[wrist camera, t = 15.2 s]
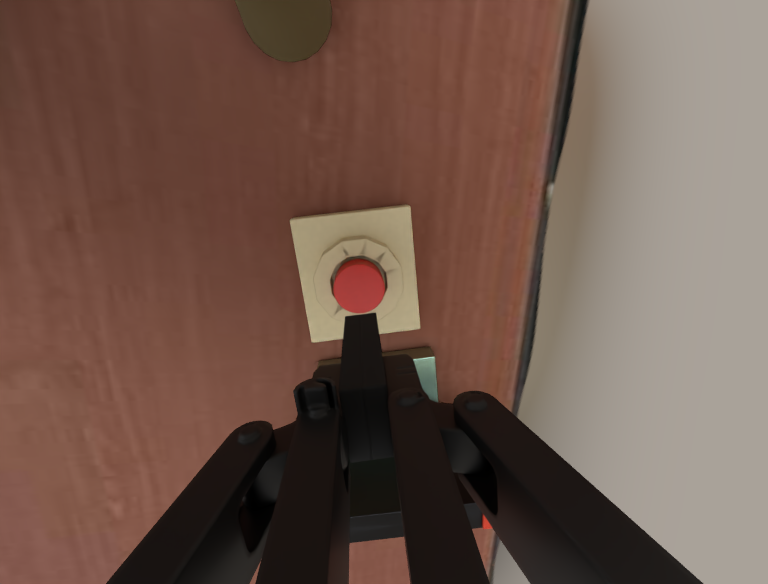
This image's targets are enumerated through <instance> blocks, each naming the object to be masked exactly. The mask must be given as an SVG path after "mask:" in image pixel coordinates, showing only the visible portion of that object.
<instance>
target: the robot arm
mask: <svg viewBox="0 0 768 584" xmlns="http://www.w3.org/2000/svg"><path fill="white" fill-rule="evenodd" d="M293 392H294V397H295V402H296V407H297V412H298V416H297V420H296V421H294V422H293V423H291V424H289V425H286V426H284V427H281V428H278V429H275V430H273V428H272V425H271V424H270V423H269V422H266V421H253V422H249V423H246V424H244V425H242V426H240V427H238V428H237V429H235V430H234V431H233V432H232V433H231V434H230V435H229V436H228V437H227V439H226V440H225V441H224V442H223V443H222V445H221V446H220V447H219V448H218V449H217V451H216V452H215V453H214V454H213V455H212V457H211V458H210V459H209V460H208V461H207V463H206V464H205V465H204V466H203V467H202V469H201V470H200V471H199V472H198V474H197V475H196V476H195V477H194V478H193V480H192V481H191V482H190V483H189V484H188V486H187V487H186V488H185V489H184V490H183V492H182V493H181V494H180V495H179V496H178V498H177V499H176V500H175V501H174V502H173V504H172V505H171V506H170V507H169V508H168V510H167V511H166V512H165V513H164V514H163V516H162V517H161V518H160V519H159V520H158V522H157V523H156V524H155V525H154V526H153V528H152V529H151V530H150V531H149V532H148V534H147V535H146V536H145V537H144V538H143V540H142V541H141V542H140V543H139V544H138V546H137V547H136V548H135V549H134V550H133V552H132V553H131V554H130V555H129V557H128V558H127V559H126V560H125V561H124V563H123V564H122V565H121V566H120V567H119V569H118V570H117V571H116V572H115V573H114V575H113V576H112V577H111V578H110V579H109V581H108V582H107V583H106V584H249V583H250V581H251V579H252V577H253V575H254V573H255V571H256V569H257V567H258V565H259V563H260V561H261V564H260V568H259V572H258V576H257V580H256V584H349V532H350V477H351V475H350V469H349V463H348V460H349V459H350V463H354V462H361V461H368V460H375V459H382V458H390V457H394V461H395V469H396V477H397V486H398V492H399V500H400V507H401V515H402V523H403V530H404V538H405V546H406V554H407V561H408V569H409V577H410V584H490V583H489V580H488V577H487V574H486V571H485V568H484V565H483V562H482V559H481V556H480V553H479V550H478V547H477V544H476V540H475V537H474V534H473V531H472V528H471V525H470V522H469V519H468V516H467V513H466V510H465V507H464V504H463V501H462V498H461V495H460V492H459V488H458V485H457V482H456V479H455V476H454V473H453V472H455V473H457V474H458V477H459V479H460V481H461V482H462V484H463V485H464V487H465V488H466V490H467V491H468V493H469V494H470V495H471V497H472V498H473V500H474V501H475V503H476V504H477V506H478V507H479V509H480V510H481V512H482V513H483V515H484V516H485V517H486V519H487V520H488V522H489V523H490V525H491V526H492V528H493V529H494V531H495V532H496V534H497V535H498V537H499V538H500V540H501V541H502V542H503V544H504V545H505V547H506V548H507V550H508V551H509V553H510V554H511V556H512V557H513V559H514V560H515V562H516V563H517V564H518V566H519V567H520V569H521V570H522V572H523V573H524V575H525V576H526V578H527V579H528V581H529V582H530V583H531V584H703V583H702V582H701V581H700V580H699V579H697V578H696V577H695V576H694V575H693V574H692V573H691V572H690V571H689V570H687V569H686V568H685V567H684V566H683V565H682V564H681V563H679V562H678V561H677V560H676V559H675V558H674V557H673V556H672V555H671V554H669V553H668V552H667V551H666V550H665V549H664V548H663V547H662V546H660V545H659V544H658V543H657V542H656V541H655V540H654V539H653V538H651V537H650V536H649V535H648V534H647V533H646V532H645V531H644V530H642V529H641V528H640V527H639V526H638V525H637V524H636V523H635V522H634V521H632V520H631V519H630V518H629V517H628V516H627V515H626V514H624V513H623V512H622V511H621V510H620V509H619V508H618V507H617V506H616V505H614V504H613V503H612V502H611V501H610V500H609V499H608V498H607V497H605V496H604V495H603V494H602V493H601V492H600V491H599V490H598V489H596V488H595V487H594V486H593V485H592V484H591V483H590V482H589V481H587V480H586V479H585V478H584V477H583V476H582V475H581V474H580V473H579V472H577V471H576V470H575V469H574V468H573V467H572V466H571V465H570V464H568V463H567V462H566V461H565V460H564V459H563V458H562V457H561V456H559V455H558V454H557V453H556V452H555V451H554V450H553V449H552V448H550V447H549V446H548V445H547V444H546V443H545V442H544V441H543V440H541V439H540V438H539V437H538V436H537V435H536V434H535V433H534V432H532V431H531V430H530V429H529V428H528V427H527V426H526V425H525V424H523V423H522V422H521V421H520V420H519V419H518V418H517V417H516V416H515V415H513V414H512V413H511V412H510V411H509V410H508V409H507V408H506V407H504V406H503V405H502V404H501V403H500V402H499V401H498V400H497V399H495V398H494V397H493V396H491V395H490V394H488V393H484V392H481V391H468V392H463V393H461V394H459V395H457V397H456V398H455V399H454V402H453V404H446V403H439V402H436V401H433V400H431V399H429V397H428V395H427V394H426V392H425V391H423V388H422V385H421V382H420V379H419V376H418V373H417V369H416V367H415V363H414V360H413V358H411V357H410V356H409V355H407V354H399V355H391V356H384V357H382V350H381V343H380V336H379V329H378V322H377V315H376V313H368V314H360V315H352V316H345V322H344V334H343V345H342V356H341V363H337V364H329V365H321V366H319V368H318V369H317V370H316V371H315V372H314V374H313V378H312V379H308V380H306V381H304V382H302V383H300V384H299V385H298V386H296V388H295V389H294V391H293ZM261 559H262V560H261Z"/></svg>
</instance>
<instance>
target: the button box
mask: <svg viewBox="0 0 768 584" xmlns="http://www.w3.org/2000/svg"><path fill="white" fill-rule="evenodd" d="M290 225H291V231H292V236H293V242H294V247H295V253H296V258H297V264H298V269H299V275H300V280H301V286H302V291H303V297H304V302H305V308H306V313H307V319H308V325H309V330H310V336H311V341H312V343H314V342H322V341H330V340H337V339H343V334H344V322H345V316H352V315H360V314H368V313H376V315H377V322H378V329H379V334H384V333H392V332H400V331H407V330H415V329H420V317H419V305H418V293H417V280H416V268H415V256H414V244H413V232H412V220H411V208H410V206H409V205H407V204H406V205H398V206H389V207H380V208H372V209H363V210H354V211H345V212H337V213H328V214H319V215H311V216H302V217H294V218H292V219H290ZM354 259H364V260H368V261H370V262H372V263H373V264H375V265H376V266H377V267H378V268H379V270H380V272H381V274H382V277H383V280H384V284H385V293H384V297H383V299H382V301H381V302H380V304H379V305H378V306H377V307H376V308H375V309H373V310H371V311H369V312H366V313H352V312H349V311H347V310H345V309H344V308H342V307H341V306H340V305H339V304H338V302H337V301H336V299H335V296H334V292H333V286H334V281H335V276H336V273H337V271H338V270H339V268H340V267H341V266H342V265H343V264H345V263H346V262H348V261H350V260H354Z"/></svg>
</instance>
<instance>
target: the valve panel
mask: <svg viewBox="0 0 768 584" xmlns="http://www.w3.org/2000/svg"><path fill="white" fill-rule="evenodd" d="M399 354H407V355H409V356H410V357H411V358H413V360H414V363H415V367H416V369H417V373H418V376H419V379H420V382H421V385H422V388H423V391H425V392H426V394H427V395H428V397H429V399H431V400H433V401H436V402H438V390H437V376H436V362H435V355H434V353H433V351H432V349H431V347H422V348H414V349H407V350H399V351H392V352H384V353H382V357H384V356H391V355H399ZM337 363H341V358H338V359H330V360H323V361H319V362H318V367H317V369H318V368H319V366H321V365H329V364H337Z"/></svg>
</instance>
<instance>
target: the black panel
mask: <svg viewBox="0 0 768 584" xmlns="http://www.w3.org/2000/svg"><path fill="white" fill-rule="evenodd" d="M348 463H349V469H350V475H351V477H350V532H349V543H353V542H362V541H370V540H379V539H388V538H396V537H404V530H403V523H402V515H401V507H400V500H399V492H398V486H397V477H396V469H395V461H394V457H390V458H382V459H375V460H368V461H361V462H354V463H350V459H349V460H348ZM453 473H454V476H455V479H456V482H457V485H458V488H459V492H460V495H461V498H462V501H463V504H464V507H465V510H466V513H467V516H468V519H469V522H470V525H471V528H472V529H474V528H482V527H483V529H489V528H492V526H491V525H490V523H489V522H488V520H487V519H486V517H485V516H484V515H483V513H482V512H481V510H480V509H479V507H478V506H477V504H476V503H475V501H474V500H473V498H472V497H471V495H470V494H469V493H468V491H467V490H466V488H465V487H464V485H463V484H462V482H461V481H460V479H459V477H458V474H457V473H455V472H453Z"/></svg>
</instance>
